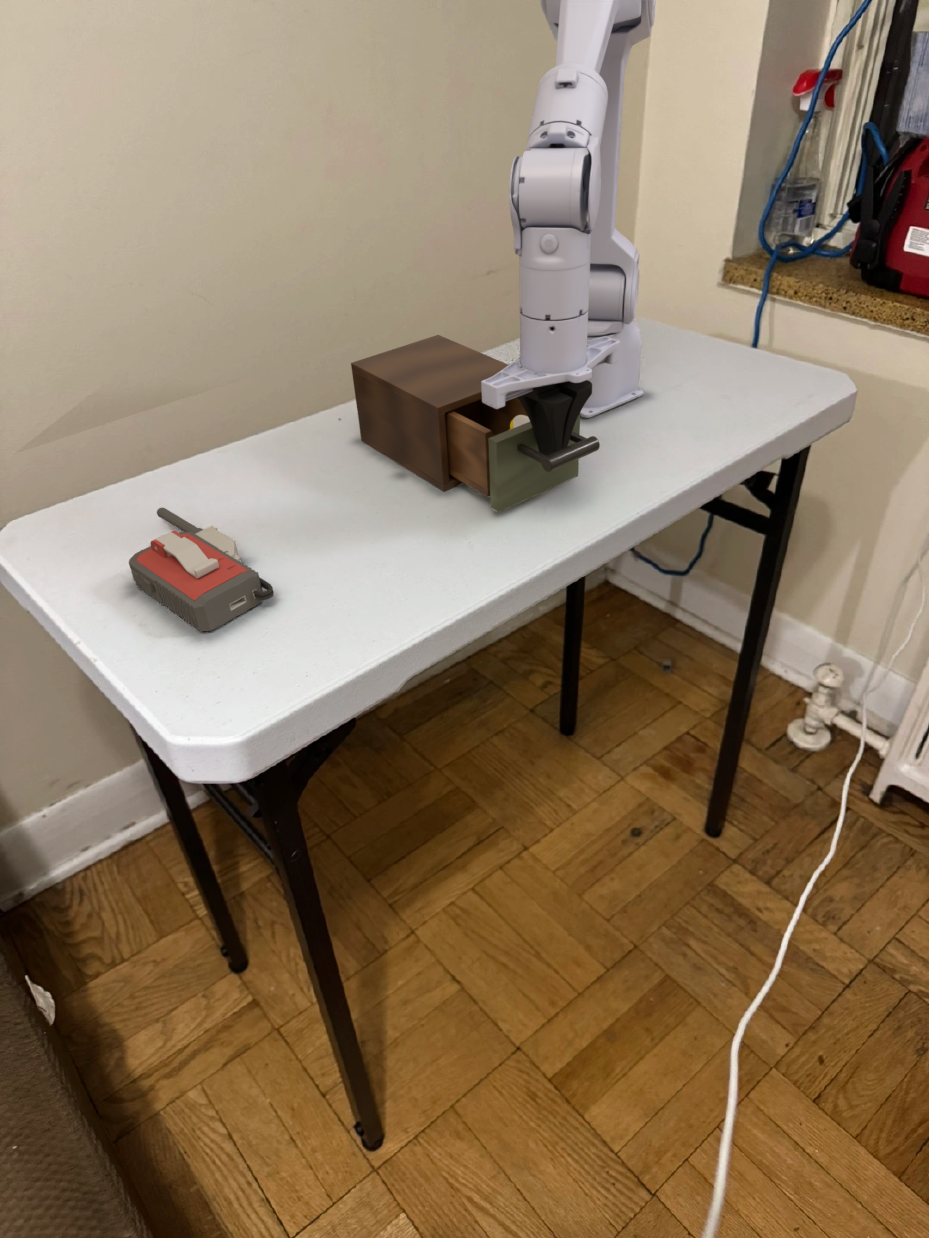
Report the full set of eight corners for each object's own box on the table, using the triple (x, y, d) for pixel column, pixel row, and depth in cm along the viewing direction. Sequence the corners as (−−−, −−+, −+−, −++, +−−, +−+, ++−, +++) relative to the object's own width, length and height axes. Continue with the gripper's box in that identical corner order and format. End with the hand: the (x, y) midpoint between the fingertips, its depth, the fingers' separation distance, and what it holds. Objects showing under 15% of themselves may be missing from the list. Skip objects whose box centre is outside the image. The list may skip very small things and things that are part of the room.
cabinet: (530, 454, 93) (529, 373, 87) (443, 492, 87) (437, 408, 82) (443, 410, 103) (438, 334, 97) (361, 440, 97) (350, 362, 92)
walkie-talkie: (297, 593, 75) (172, 518, 86) (288, 551, 72) (160, 478, 83) (211, 644, 70) (91, 556, 81) (198, 600, 67) (76, 516, 79)
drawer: (613, 494, 84) (618, 424, 79) (532, 533, 79) (532, 461, 74) (487, 429, 96) (485, 366, 92) (411, 459, 91) (404, 394, 87)
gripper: (519, 344, 66) (521, 499, 75) (649, 299, 73) (638, 445, 81) (462, 322, 71) (470, 470, 79) (590, 281, 77) (585, 421, 86)
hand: (552, 456), depth 80 cm, fingers closed, pressing on drawer
